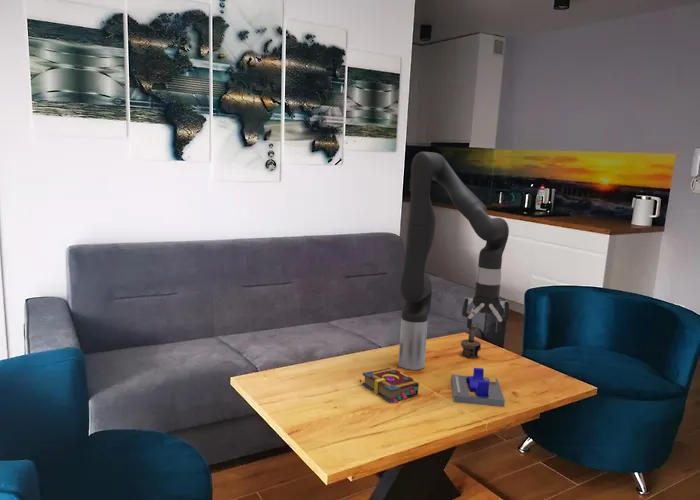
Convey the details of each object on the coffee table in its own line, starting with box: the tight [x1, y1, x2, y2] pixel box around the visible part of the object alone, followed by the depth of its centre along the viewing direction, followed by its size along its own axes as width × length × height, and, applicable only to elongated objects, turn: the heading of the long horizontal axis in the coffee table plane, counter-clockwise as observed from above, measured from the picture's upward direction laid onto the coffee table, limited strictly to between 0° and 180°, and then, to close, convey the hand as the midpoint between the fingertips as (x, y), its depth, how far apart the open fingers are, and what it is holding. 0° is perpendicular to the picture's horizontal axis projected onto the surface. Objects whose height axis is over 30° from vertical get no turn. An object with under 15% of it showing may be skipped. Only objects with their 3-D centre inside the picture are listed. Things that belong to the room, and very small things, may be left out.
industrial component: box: [460, 324, 482, 359], centre depth 209 cm, size 9×7×12 cm
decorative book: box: [361, 367, 420, 404], centre depth 174 cm, size 11×16×5 cm
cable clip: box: [467, 367, 489, 397], centre depth 176 cm, size 12×4×6 cm, turn 175°
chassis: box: [450, 374, 506, 407], centre depth 176 cm, size 15×17×3 cm
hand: (483, 330), depth 176 cm, fingers open, 8 cm apart
